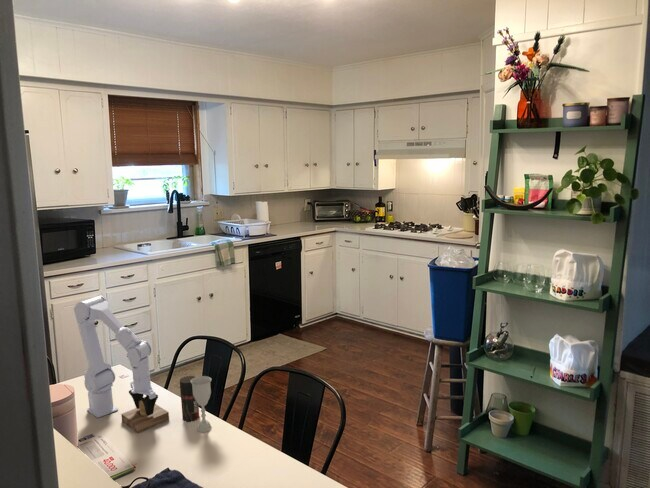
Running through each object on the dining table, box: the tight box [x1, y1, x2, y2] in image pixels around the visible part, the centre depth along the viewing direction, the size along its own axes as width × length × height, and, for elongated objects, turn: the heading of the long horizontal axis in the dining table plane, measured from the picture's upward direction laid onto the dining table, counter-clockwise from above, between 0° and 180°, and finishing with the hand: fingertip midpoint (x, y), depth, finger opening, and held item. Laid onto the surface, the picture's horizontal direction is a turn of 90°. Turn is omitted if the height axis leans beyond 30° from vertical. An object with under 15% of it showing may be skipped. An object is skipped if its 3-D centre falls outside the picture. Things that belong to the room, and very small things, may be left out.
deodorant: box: [179, 375, 200, 423], centre depth 190 cm, size 6×6×15 cm
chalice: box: [190, 375, 213, 433], centre depth 183 cm, size 7×7×18 cm
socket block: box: [120, 403, 170, 434], centre depth 190 cm, size 12×12×3 cm
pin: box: [139, 400, 147, 417], centre depth 190 cm, size 3×3×7 cm
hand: (144, 411), depth 190 cm, fingers open, 7 cm apart
